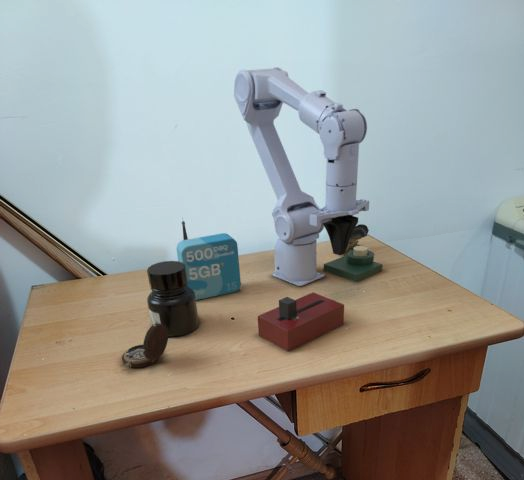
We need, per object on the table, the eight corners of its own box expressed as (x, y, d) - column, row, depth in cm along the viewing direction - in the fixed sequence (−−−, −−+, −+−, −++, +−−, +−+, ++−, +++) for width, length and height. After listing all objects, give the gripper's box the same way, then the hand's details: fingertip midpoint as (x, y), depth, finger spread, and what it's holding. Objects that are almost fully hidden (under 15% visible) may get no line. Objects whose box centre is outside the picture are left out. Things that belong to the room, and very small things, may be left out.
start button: (350, 255, 109) (350, 248, 108) (359, 252, 111) (359, 244, 110) (361, 258, 107) (361, 251, 106) (370, 255, 109) (370, 247, 108)
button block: (323, 270, 110) (323, 256, 109) (351, 259, 116) (352, 245, 114) (356, 282, 104) (357, 267, 102) (385, 269, 109) (386, 255, 107)
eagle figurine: (367, 254, 115) (375, 236, 121) (351, 230, 113) (360, 213, 119) (342, 266, 120) (351, 248, 126) (326, 244, 118) (336, 227, 124)
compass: (136, 347, 84) (128, 310, 80) (174, 354, 81) (167, 317, 78) (107, 370, 78) (97, 332, 74) (147, 379, 75) (138, 340, 71)
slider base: (258, 335, 85) (257, 315, 83) (313, 310, 93) (313, 291, 91) (288, 351, 80) (287, 330, 78) (343, 323, 87) (344, 304, 85)
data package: (188, 302, 99) (180, 247, 93) (183, 294, 103) (175, 241, 97) (241, 290, 103) (237, 237, 97) (234, 283, 107) (230, 231, 100)
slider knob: (279, 315, 83) (278, 300, 81) (287, 311, 84) (287, 296, 82) (288, 319, 81) (287, 304, 80) (296, 316, 82) (296, 300, 81)
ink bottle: (159, 315, 95) (148, 258, 88) (202, 314, 94) (194, 257, 88) (147, 339, 86) (134, 279, 80) (195, 338, 86) (185, 277, 80)
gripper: (329, 193, 81) (328, 268, 88) (383, 179, 88) (378, 249, 95) (301, 188, 86) (302, 259, 93) (355, 174, 93) (351, 241, 100)
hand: (338, 253), depth 94 cm, fingers closed
